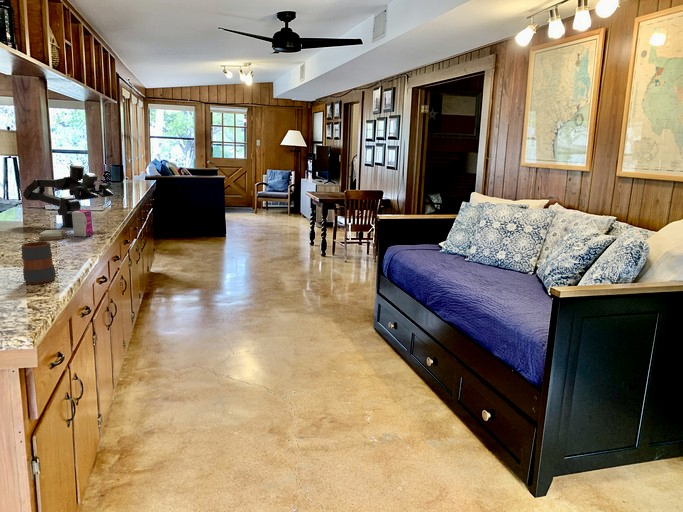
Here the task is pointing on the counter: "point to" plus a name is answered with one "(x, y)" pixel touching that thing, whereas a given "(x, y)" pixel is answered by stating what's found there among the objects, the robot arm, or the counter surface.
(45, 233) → the pedestal
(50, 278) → the banded dark cylinder
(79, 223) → the supplement box
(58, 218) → the counter surface
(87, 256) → the counter surface
